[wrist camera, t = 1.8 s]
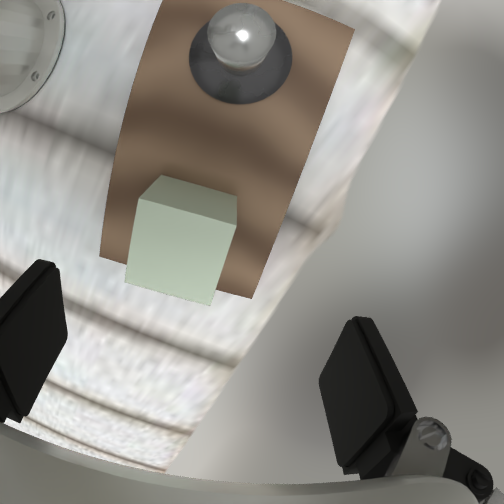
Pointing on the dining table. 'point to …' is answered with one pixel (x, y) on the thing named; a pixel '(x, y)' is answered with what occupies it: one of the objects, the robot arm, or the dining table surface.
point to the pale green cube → (181, 239)
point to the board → (226, 117)
